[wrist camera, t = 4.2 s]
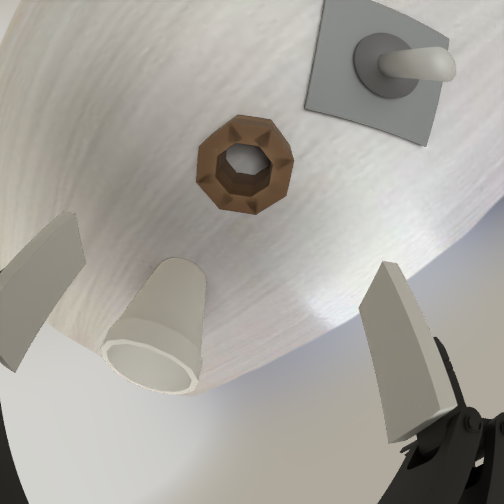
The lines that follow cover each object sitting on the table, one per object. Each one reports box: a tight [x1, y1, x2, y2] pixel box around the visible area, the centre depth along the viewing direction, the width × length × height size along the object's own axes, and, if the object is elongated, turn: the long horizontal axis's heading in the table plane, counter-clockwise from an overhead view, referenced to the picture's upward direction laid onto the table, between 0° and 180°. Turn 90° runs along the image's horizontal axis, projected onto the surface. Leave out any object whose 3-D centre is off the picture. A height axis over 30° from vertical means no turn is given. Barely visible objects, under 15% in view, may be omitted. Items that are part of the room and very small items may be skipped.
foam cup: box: [101, 257, 206, 394], centre depth 27 cm, size 10×9×13 cm
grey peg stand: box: [304, 0, 456, 147], centre depth 13 cm, size 12×12×10 cm
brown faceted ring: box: [196, 115, 294, 215], centre depth 21 cm, size 7×7×5 cm
